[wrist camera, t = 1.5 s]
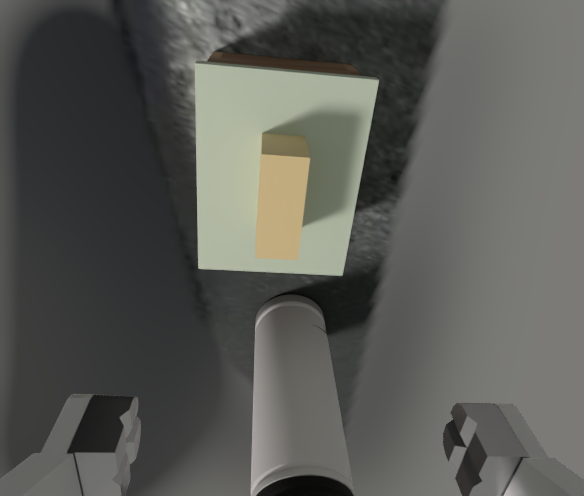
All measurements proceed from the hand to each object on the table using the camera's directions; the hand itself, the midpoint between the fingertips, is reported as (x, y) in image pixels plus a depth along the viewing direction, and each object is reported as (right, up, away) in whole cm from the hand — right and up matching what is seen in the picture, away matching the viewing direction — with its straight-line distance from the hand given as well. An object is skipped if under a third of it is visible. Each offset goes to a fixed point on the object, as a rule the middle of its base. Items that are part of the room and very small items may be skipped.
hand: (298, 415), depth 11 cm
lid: (-1, +8, +15) cm, 18 cm away
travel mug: (0, -2, +29) cm, 29 cm away
